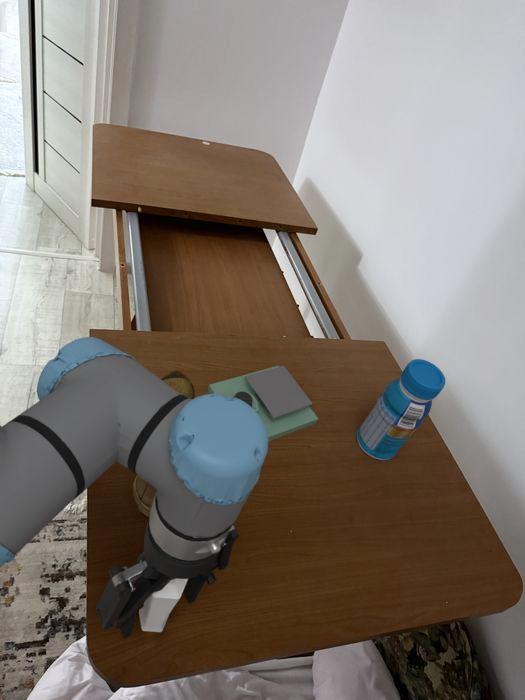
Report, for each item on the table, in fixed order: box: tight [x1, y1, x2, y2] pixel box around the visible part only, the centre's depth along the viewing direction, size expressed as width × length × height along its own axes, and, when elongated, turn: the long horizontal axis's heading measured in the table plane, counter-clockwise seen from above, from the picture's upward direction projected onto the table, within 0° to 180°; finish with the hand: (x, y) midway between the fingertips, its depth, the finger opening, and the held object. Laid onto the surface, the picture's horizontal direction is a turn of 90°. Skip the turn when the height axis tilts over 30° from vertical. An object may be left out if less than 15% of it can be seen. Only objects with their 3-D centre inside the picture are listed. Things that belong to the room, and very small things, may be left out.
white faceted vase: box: [138, 578, 188, 633], centre depth 59 cm, size 5×4×15 cm
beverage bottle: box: [356, 358, 446, 461], centre depth 89 cm, size 8×8×20 cm
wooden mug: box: [131, 369, 196, 518], centre depth 72 cm, size 9×14×18 cm, turn 13°
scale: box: [206, 365, 319, 443], centre depth 92 cm, size 17×14×4 cm
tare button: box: [234, 392, 253, 406], centre depth 88 cm, size 3×3×2 cm
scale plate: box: [245, 365, 314, 419], centre depth 93 cm, size 9×10×1 cm
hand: (156, 609), depth 63 cm, fingers open, 8 cm apart
